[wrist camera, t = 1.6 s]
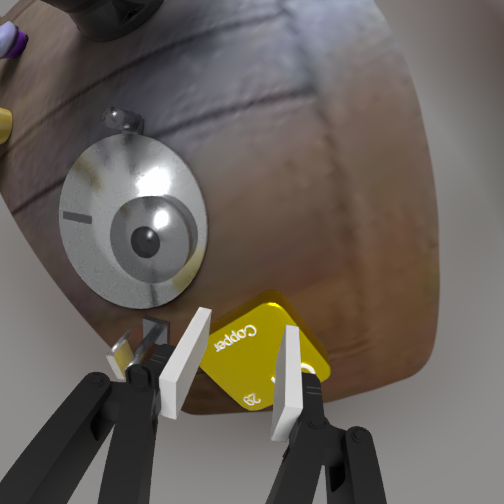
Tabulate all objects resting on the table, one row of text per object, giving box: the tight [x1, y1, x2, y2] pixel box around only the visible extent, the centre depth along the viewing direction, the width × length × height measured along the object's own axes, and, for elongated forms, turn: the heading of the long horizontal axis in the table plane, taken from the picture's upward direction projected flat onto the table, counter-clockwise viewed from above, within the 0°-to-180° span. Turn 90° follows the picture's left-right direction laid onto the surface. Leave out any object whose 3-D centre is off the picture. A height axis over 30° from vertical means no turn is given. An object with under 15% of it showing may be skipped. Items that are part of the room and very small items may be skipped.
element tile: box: [199, 289, 331, 411], centre depth 37 cm, size 15×15×5 cm
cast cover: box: [110, 193, 198, 284], centre depth 31 cm, size 10×10×4 cm
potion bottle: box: [0, 21, 29, 59], centre depth 22 cm, size 9×9×12 cm
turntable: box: [59, 107, 209, 309], centre depth 32 cm, size 27×24×6 cm
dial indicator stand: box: [106, 315, 170, 379], centre depth 34 cm, size 5×4×12 cm
